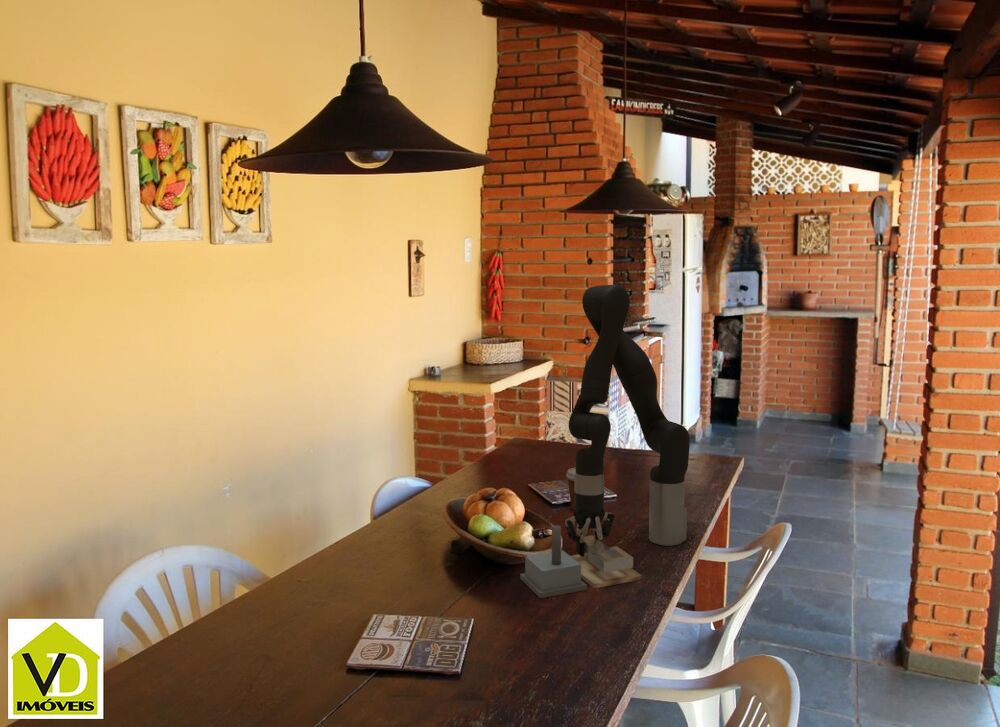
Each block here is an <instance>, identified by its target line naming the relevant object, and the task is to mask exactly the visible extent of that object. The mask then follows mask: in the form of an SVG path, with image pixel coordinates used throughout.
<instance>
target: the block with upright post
mask: <svg viewBox="0 0 1000 727" xmlns="http://www.w3.org/2000/svg"><path fill="white" fill-rule="evenodd" d="M571 556H572V555H570V554H568V553H567V552H565V550H563V549H562V526H561V525H557V524H554V525H551V551H548V552H542V553H536V554H530V555H529V554H528V555H525V557H524V559H525V560H524V563H525V565H524V566H525V568H524V569H525V570H524V573H520V574H519V579H520V581H522V583H524V584H525V585H526V586H527V587H528V588H529V589H530V590H531V591H532V592H533V593H534V594H535V595H536V596H537V597H538V598H539V599H545V598H550V597H556V596H561V595H566V594H571V593H577V592H582V591H587V590H588V587H587V583H585V582H584V581H582V578H581V564H580V563H578V562H577V561H576V560H575V559H573V558H572V557H571Z"/></svg>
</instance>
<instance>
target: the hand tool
mask: <svg viewBox="0 0 1000 727" xmlns="http://www.w3.org/2000/svg"><path fill="white" fill-rule="evenodd" d="M461 537H462V536H461ZM461 537H458V538H457V539H453V540H451V543H450V547H451V548H450V550H451V551H452V553H453V554H458V555H459V554H460V555H462V554H464V553H465V552H466V551H467V549H469V548H470V547H471V546H470V545H469V544H468V543H467V542H466V541H465V540H464V539H463V538H461Z"/></svg>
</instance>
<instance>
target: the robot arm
mask: <svg viewBox="0 0 1000 727" xmlns="http://www.w3.org/2000/svg"><path fill="white" fill-rule="evenodd" d="M581 302H582V304H581V305H582V309H583V311H584V315H585V316H586V318H587V320H588V322H589V324H590V325H591V327H592V328H593V330H594V331H595V333H596V335H597V337H598V338H597V341H596V343H595V345H594V347H593V348H592V351H591V353H590V355H588V358H587V360H586V362H585V364H584V368H583V372H582V378H581V385H580V392H579V394H578V397H577V400H576V403H575V405H574V407H573V409H572V412H571V414H570V417H569V420H568V430H569V433H570V435H571V436H572V437H573V438H575V439H578V440H585V441H590V447H582V448H580V449H578V450H577V451H576V453H575V468H576V473H575V491H574V506H575V511H574V512H573V516H571V517H569V518H567V517H565V518H563V524H564V526H565V529H566V532H567V535H568V538H569V539H570V540H571V541H573V542H575V543H576V544H575V545H576V546H575V547H576V550H575V551H576V553H577V555H578V554H579V555H580V556H581V557H583V556H584V553H585V551H584V538H585V536H586V535H587V534H588V530H590V529H592V531H593V536H594V537H596V538H597V539H598V540H600V541H601V542H603V539H604V538H605V537H609V536H610V533H611V529H612V526H613V523H614V519H615V515H614V514H613V513H612V512H610V511H605V508H604V507H605V478H604V458H605V453H606V449H607V444H608V440H609V439H610V435H611V430H612V429H611V426H612V425H611V421H610V419H609V418H608V416H607V415H606V414H603V413H597V412H591V410H592V409H593V407H594V406H595V405H603V404H604V403H606V402H608V398H609V391H610V385H611V378H612V372H613V368H614V370H615V373H616V376H617V377H618V379H619V382H620V383H621V386H622V388H623V389H624V391H625V393H626V396H627V398H628V400H629V402H630V404H631V406H632V409H633V410H634V413H635V414H636V417H637V421H638V423H639V427H640V429H641V433H642V435H643V438H644V440H645V443H646V446H648V448H649V449H651V451H653V452H655V453H658V454H659V464H658V465H655V466H652V467H651V469H650V472H649V514H648V515H649V519H648V520H649V523H648V526H649V527H648V529H649V530H648V540H649V541H650V542H651V543H653V544H655V545H660V546H666V547H667V546H668V547H669V546H678V545H681V544H682V543H684V542H686V541H687V532H688V530H687V529H688V528H687V525H688V524H687V523H688V508H687V507H686V506H685V478H686V473H687V471H688V468H689V460H690V458H689V457H690V446H691V444H690V443H691V442H690V441H691V440H690V434H689V430H688V429H687V428H686V427H685V426H684V425H682V424H680V423H678V422H677V423H676V422H673V421H670V420H668V418H667V417H666V416H665V414H664V412H663V411H662V408H661V406H660V403H659V401H658V378H657V375H656V372H655V369H654V367H653V365H652V363H651V360H650V358H649V357H648V355H647V353H646V352H645V351H644V349H643V348H642V347H640V345H639V344H638V343H637V342H636V341H635V340H633V339H632V337H630V335H628V334H627V332H626V331H625V330H624V327H625V324H626V321H627V318H628V313H629V309H630V294H629V293H628V291H627V289H626V288H624V286H623V285H620V284H602V285H594V286H590V287H588V288H587V289H586V290H585V291H584V293H583V295H582V301H581ZM602 520H603V521H602ZM575 522H576V523H577V525H576V531H575V528H574V527H575V524H576V523H575ZM601 522H603V523H602V525H601Z"/></svg>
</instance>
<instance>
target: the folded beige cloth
mask: <svg viewBox="0 0 1000 727" xmlns="http://www.w3.org/2000/svg"><path fill="white" fill-rule="evenodd" d="M570 556H571V557H572V558H573V559H575V560H576V561H577V562H578V563H580V564H581V580H584V581H585V582H586V584H588V585H590V586H591V588H593V589H598V588H604V587H609V586H615V585H619V584H620V585H621V584H624V583H631V582H636V581H640V580H643V579H642V578H643V575H642V574H640V573H639V572H637V571H636V570H634V569H633V568H627V569H622V570H616V571H611V572H605V573H604V572H602V571H601V570H600V569H598V568H597V567H596V566H594V565H593V564H592V563H591V562H589V561H588V554H587V553H586V552H584V556H583V557H581V556H580V555H579V554H578V553H577V554H573V555H570Z"/></svg>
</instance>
